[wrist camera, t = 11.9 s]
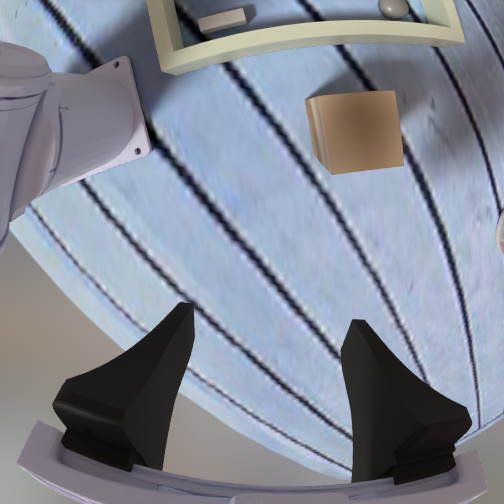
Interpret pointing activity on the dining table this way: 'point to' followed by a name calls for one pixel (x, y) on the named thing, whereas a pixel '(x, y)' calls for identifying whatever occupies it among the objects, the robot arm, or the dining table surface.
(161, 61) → the rectangular frame
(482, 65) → the dining table surface
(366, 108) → the maple block
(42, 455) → the robot arm
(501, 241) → the pill bottle
